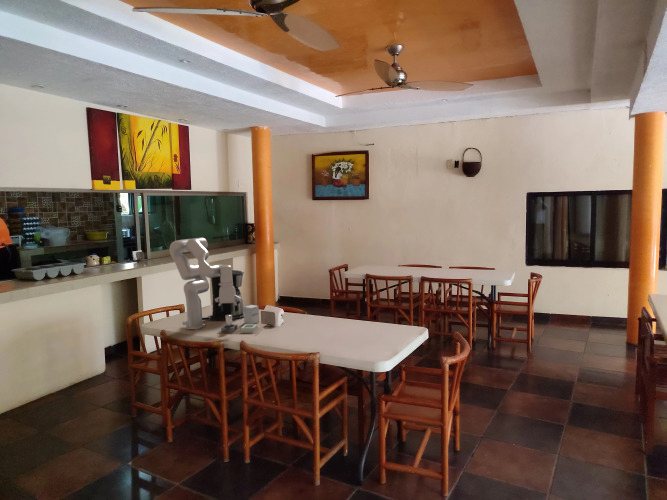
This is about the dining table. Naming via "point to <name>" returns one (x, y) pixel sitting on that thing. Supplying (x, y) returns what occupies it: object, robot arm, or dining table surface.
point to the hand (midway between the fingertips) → (229, 311)
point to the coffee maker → (227, 307)
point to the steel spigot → (229, 321)
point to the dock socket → (249, 328)
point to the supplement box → (251, 314)
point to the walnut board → (234, 330)
